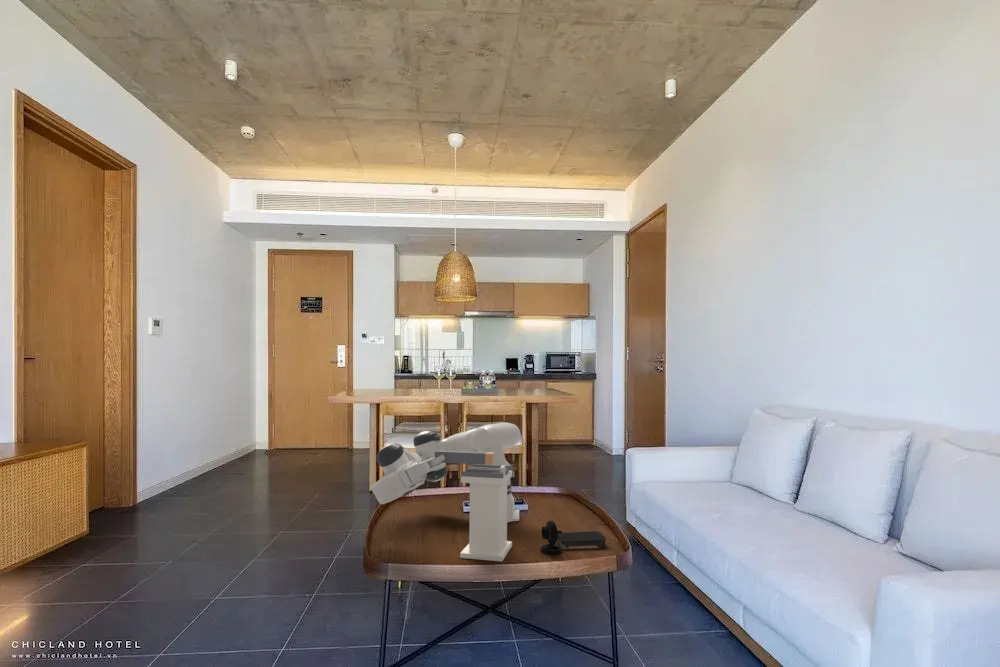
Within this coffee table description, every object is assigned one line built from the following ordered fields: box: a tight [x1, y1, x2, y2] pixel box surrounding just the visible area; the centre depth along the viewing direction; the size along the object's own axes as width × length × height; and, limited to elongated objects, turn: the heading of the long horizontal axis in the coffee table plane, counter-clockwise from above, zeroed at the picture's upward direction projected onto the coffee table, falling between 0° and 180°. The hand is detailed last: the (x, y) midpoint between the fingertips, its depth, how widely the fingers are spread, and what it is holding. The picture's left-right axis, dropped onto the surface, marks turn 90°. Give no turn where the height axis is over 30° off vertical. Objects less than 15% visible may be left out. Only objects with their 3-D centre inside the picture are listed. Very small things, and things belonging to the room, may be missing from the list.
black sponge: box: [556, 530, 607, 550], centre depth 184 cm, size 16×8×4 cm, turn 97°
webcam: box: [540, 519, 564, 555], centre depth 178 cm, size 8×8×10 cm
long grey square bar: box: [435, 450, 495, 465], centre depth 176 cm, size 4×20×4 cm, turn 77°
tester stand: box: [459, 464, 513, 562], centre depth 177 cm, size 16×14×29 cm
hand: (447, 455), depth 177 cm, fingers closed on long grey square bar, 4 cm apart
